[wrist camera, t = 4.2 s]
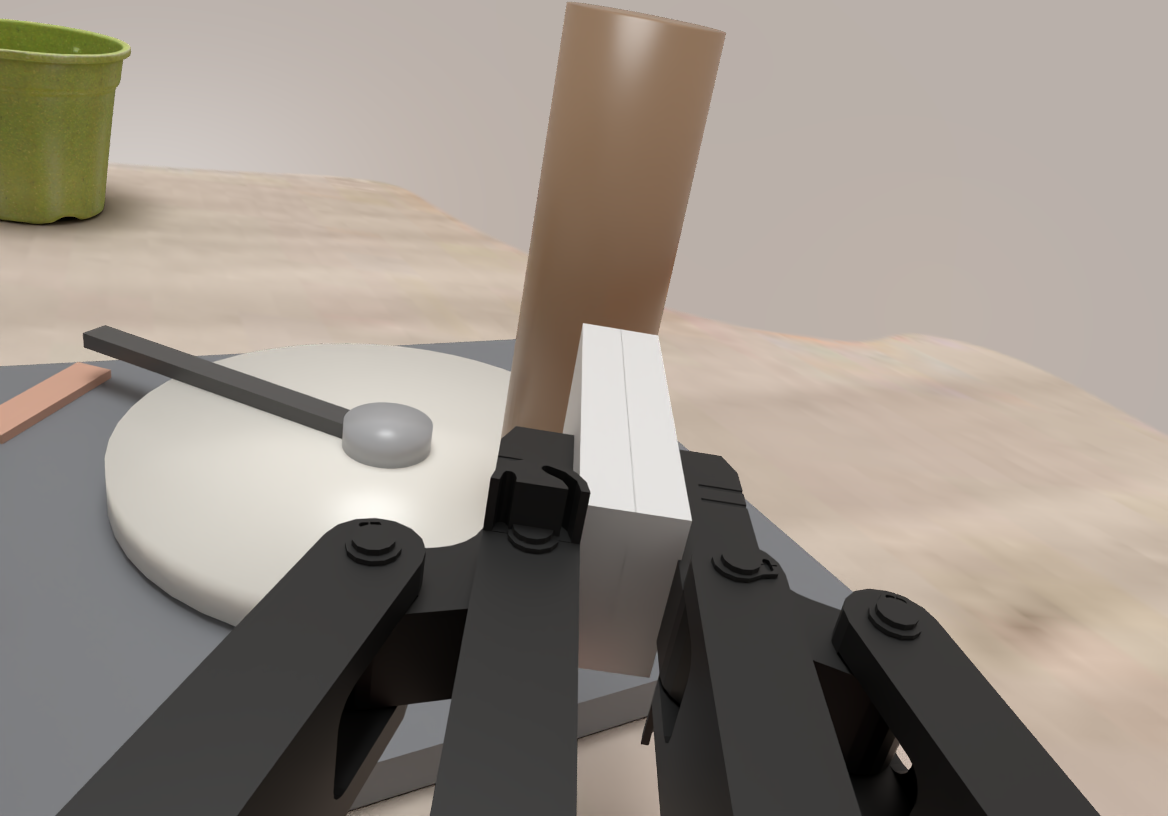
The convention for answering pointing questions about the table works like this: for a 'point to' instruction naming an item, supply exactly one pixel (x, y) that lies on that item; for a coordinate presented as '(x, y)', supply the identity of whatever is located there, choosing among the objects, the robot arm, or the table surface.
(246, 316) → the table surface
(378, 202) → the table surface
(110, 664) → the dial plate
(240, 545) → the post on round base
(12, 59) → the plant pot
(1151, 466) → the table surface
